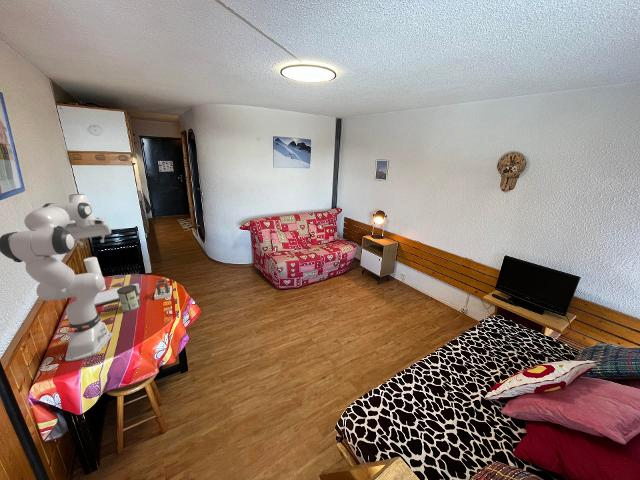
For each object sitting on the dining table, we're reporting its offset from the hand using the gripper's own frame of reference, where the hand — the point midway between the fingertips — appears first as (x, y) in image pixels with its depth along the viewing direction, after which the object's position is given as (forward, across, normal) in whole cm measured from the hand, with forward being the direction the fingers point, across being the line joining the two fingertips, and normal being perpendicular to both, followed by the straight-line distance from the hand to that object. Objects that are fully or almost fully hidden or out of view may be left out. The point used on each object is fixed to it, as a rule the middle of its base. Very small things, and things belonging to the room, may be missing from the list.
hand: (92, 243), depth 155 cm
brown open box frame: (+45, +30, +1) cm, 54 cm away
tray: (+46, 0, +17) cm, 49 cm away
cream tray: (+46, +30, +1) cm, 54 cm away
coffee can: (+46, +10, -5) cm, 47 cm away
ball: (+45, +30, +1) cm, 54 cm away
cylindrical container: (+46, -10, +36) cm, 59 cm away
